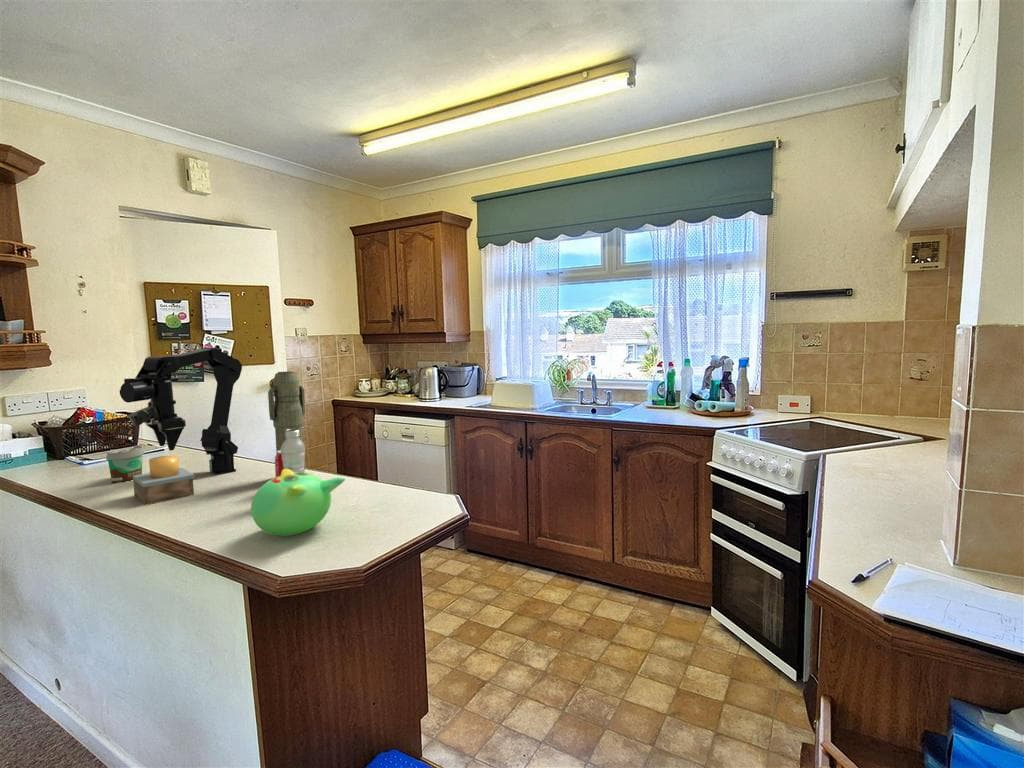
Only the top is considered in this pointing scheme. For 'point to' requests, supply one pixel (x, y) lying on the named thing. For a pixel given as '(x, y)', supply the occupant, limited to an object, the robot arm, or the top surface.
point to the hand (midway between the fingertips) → (166, 448)
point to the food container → (125, 464)
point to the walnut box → (163, 491)
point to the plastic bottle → (293, 451)
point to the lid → (148, 481)
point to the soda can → (278, 463)
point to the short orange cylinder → (164, 466)
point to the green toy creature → (292, 502)
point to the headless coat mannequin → (286, 406)
